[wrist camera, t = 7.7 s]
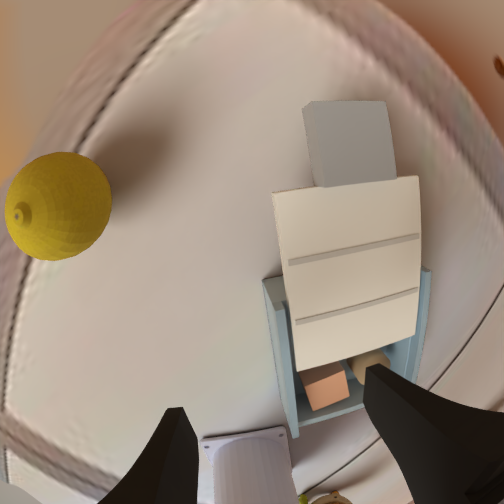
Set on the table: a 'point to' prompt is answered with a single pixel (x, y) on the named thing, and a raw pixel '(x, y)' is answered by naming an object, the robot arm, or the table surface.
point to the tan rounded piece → (366, 362)
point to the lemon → (58, 206)
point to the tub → (290, 386)
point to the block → (324, 384)
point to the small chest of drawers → (349, 238)
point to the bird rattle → (326, 499)
